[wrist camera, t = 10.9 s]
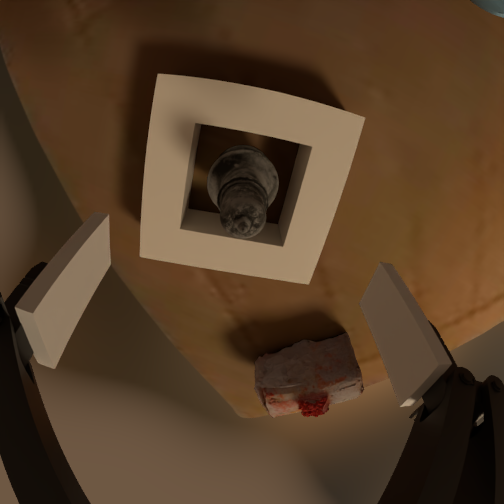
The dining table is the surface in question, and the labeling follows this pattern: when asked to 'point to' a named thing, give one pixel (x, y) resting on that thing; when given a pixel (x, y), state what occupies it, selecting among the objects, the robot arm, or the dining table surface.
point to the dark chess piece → (242, 189)
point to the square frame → (208, 224)
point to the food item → (308, 377)
